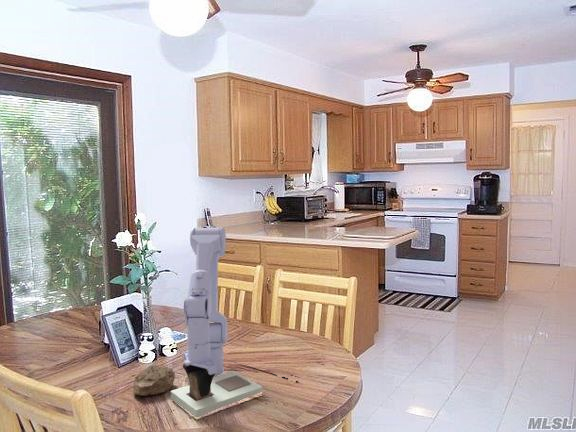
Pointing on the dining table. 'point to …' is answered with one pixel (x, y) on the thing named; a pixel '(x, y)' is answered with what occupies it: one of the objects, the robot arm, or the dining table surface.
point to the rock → (153, 380)
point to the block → (195, 388)
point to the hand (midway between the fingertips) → (200, 392)
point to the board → (217, 393)
